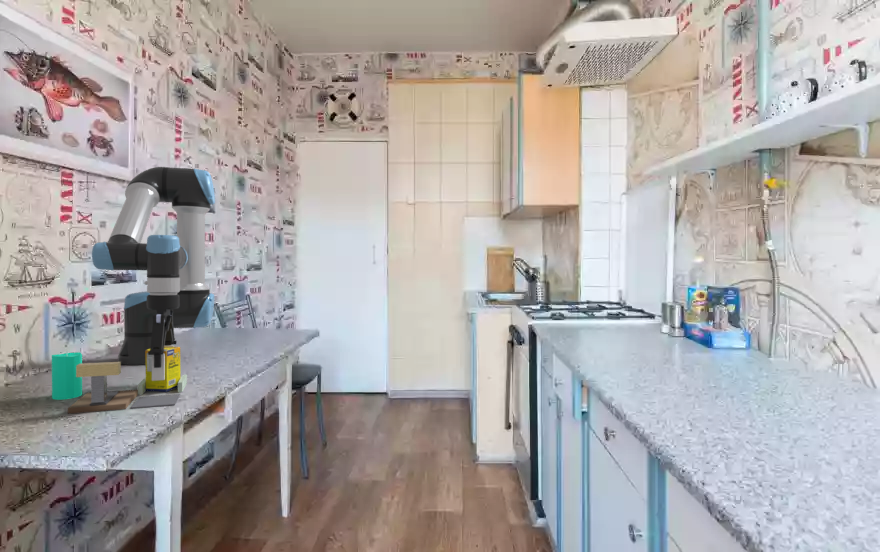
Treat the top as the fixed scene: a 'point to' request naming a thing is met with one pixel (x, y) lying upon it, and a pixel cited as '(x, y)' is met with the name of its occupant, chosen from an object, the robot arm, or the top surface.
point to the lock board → (113, 402)
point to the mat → (156, 401)
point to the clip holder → (181, 385)
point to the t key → (98, 377)
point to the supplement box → (170, 371)
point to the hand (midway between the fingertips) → (163, 374)
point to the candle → (66, 376)
